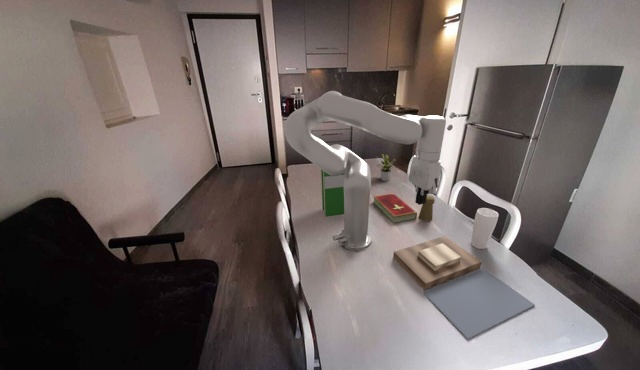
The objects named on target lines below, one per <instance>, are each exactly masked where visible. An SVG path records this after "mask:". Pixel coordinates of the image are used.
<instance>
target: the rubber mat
mask: <svg viewBox="0 0 640 370" xmlns="http://www.w3.org/2000/svg"><path fill="white" fill-rule="evenodd" d="M422 293H423V295H424V296H426V297H427V299H428V300H430V302H431V303H432V304H433V305H434V306H435V307H436V308H437V309H438V310H439V311H440V312H441V313H442V314H443V316H444V317H446V319H447V320H448V321H449V322H450V323H451V324H452V325H453V326H454V327H455V328H456V329H457V330H458V332H459V333H461V335H463V337H464V338H465V339H466V340H469V339H472V338H473V337H475V336H477V335H480V334H481V333H483V332H486V331H487V330H489V329H491V328H493V327H495V326H497V325H499V324H501V323H504V322H505V321H507V320H509V319H511V318H513V317H514V316H517V315H519V314H521V313H523V312H525V311H527V310H529V309H530V308H533V307H535V304H534V303H533V301H532V302H531V301H530V300H529V299H528V298H527V297H525V296H524V295H522V294H521V293H520V292H518V291H516V289H513V288H512V287H511V286H510V285H508V284H507V283H505V282H504V281H502V280H501V279H500V278H499V277H497V276H495V274H493V273H492V272H490V271H488V269H486V268H484V267H483V268H480V269H478V270H475V271H473V272H470V273H467V274H465V275H462V276H460V277H457V278H455V279H452V280H450V281H447V282H445V283H442V284H439V285H437V286H434V287H432V288H429V289H427V290H423V292H422Z"/></svg>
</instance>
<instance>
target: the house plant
mask: <svg viewBox="0 0 640 370" xmlns="http://www.w3.org/2000/svg"><path fill="white" fill-rule="evenodd" d="M381 155H382V159H383V160H382V159H380V157H379V156H378V157H377V159H380V162H381V164H382V165H381V164H379V163H377V165H376V167H381V168H380V169H379V170H380V180H381V181H384V182H388V181H390V180H391V175H392V172H393V170H392V168H396V166H394V165H392V164H394V161H395V158H393V159H392V160H391V162H390V159H389V156H390V155H384V154H382V153H381Z"/></svg>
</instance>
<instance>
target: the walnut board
mask: <svg viewBox="0 0 640 370" xmlns="http://www.w3.org/2000/svg"><path fill="white" fill-rule="evenodd" d="M442 243H443V244H444V245H446V246H447V247H448V248H450V249H451V250H453V251H454V252H455V253H457V254H458V255H459V256H461V260H460V262H457V263H455V264H452V265H449V266H446V267H444V268H441V269H438V270H436V271H434V270H433V269H432V268H431V267H430V266H429V265H428V264H427V263H425V262H424V261H423V260H422V259H421V258H420V257H419V256H418V251H421V250H424V249H427V248H430V247H433V246H436V245H439V244H442ZM392 259H393V261H395V262H396V263H397V264H398V265H399V266H400V267H401V268H402V269H403V270H404V271H405V273H407V274H408V276H410V277H411V278H412V280H413V281H414V282H415V283H416V284H417V285H418V286H419V287H420V288H421V289H422V290H423V291H426V290H429V289H431V288H434V287H436V286H439V285H441V284H444V283H446V282H449V281H452V280H454V279H457V278H459V277H462V276H464V275H467V274H469V273H472V272H474V271H477V270H479V269H481V265H482V262H483V261H481V260H480V259H478V257H476V256H474V255H473V254H471V253H470V252H469V251H467V250H466V249H464V248H463V247H461V246H460V245H458V244H457V243H456V242H454V241H453V240H451V239H450V238H448V237H447V236H446V235H443V236H440V237H435V238H433V239H430V240H428V241H423V242H420V243H418V244H415V245H412V246H408V247H405V248H402V249H398V250H397V251H393V255H392Z"/></svg>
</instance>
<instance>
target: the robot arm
mask: <svg viewBox="0 0 640 370" xmlns="http://www.w3.org/2000/svg"><path fill="white" fill-rule="evenodd" d="M328 120H329V121H333V122H336V123H340V124H343V125H347V126H349V127H355V128H357V129H359V130H360V129H361V130H363V131H364V132H366V133H368V134H369V133H370V134H372V135H374V136H377V137H378V138H382V139H385V140H387V141H392V142H395V143H398V144H401V145H402V144H403V145H413V144H415V143H416V148H415V155H413V157H412V160H411V163H410V167H409V173H408V181H409V183H411V184H412V185H413V186H414V187H415V188H414V189H415V193H416V195H415V203H416V204H417V205H419V206H420V205H421V206H422V204H425V203H426V198H427V195H429V194H430V195H434V194H436V193H437V189H438V187H439V184H440V180H441V160H440V159H441V153H442V148H443V141H444V136H445V130H446V124H447V120H446V118H445V117H444V116H440V115H426V116H424V115H423V116H422V115H413V114H403V115H400V116H399V115H397V114H392V113H390V112H388V111H385V110H382V109H380V108H379V107H377V106H376V105H374V104H372V103H371V102H368V101H364V100H360V99H358V98H357V99H356V98H353V97H349V96H346V95H343V94H342V93H341V92H338V91H336V90H329V91H327V92H324V94H322V95H321V96H320V97H318V98H316V99H314V100H312V101H311V102H309V103H307V104H305V105H303V106H301V107H300V108H298V109H296V110H294V111H292V113H290V114H289V116H287V119H286V121H285V125H284V135H285V139H286V142H287V143H288V144H289V146H290V147H291V148H292V149H293V150H294V151H296V152H297V153H298V154H299V155H301V156H303V157H304V158H305V159H307V160H308V161H310V162H311V163H312V164H313V165H315V166H316V167H318V168H319V169H320V170H321V169H322V170H323V171H324V172H326V173H327V174H329V175H331V176H339V175H341V174H342V173H343V174H344V175H345V178H344V214H343V229H342V230H341V232H340V233H339V234H336V235H333V236H332V239H333V240H332V241H338V243H339V244H341V245H342V246H343V247H345V248H347V249H349V250H355V251H357V250H358V251H360V250H361V251H362V250H364V249H367V248H368V247H369V246H370V245H371V244H372V243H371V242H372V237H371V235H370V233H369V216H370V215H369V214H370V197H371V196H370V195H371V185H372V184H371V183H372V177H371V176H372V175H371V173H372V172H371V168H370V165H369V164H368V163H367V162H366V161H365V160H363V159H362V158H361V157H359V155H357V154H355V152H353V151H352V150H351V149H349V148H348V147H345V146H344V145H342V144H338V143H336V144H332V145H329V144H328V143H326V142H325V141H323V139H321V138H320V137H317V136H315V135H314V134H312V132H311V131H312V130H313V129H314V128H315V127H316V126H319V125H321V124H322V123H324V122H326V121H328Z"/></svg>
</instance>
